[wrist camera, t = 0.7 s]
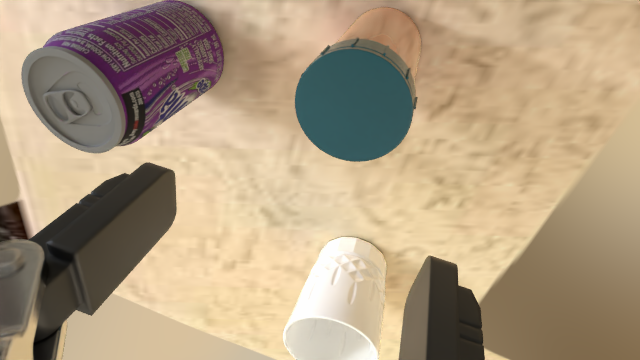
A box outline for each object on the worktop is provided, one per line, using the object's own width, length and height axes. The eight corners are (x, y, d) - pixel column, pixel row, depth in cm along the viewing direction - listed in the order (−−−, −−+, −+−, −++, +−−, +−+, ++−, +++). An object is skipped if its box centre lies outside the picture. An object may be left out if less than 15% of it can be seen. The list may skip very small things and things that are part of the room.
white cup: (366, 221, 36) (344, 307, 28) (407, 279, 39) (397, 373, 31) (300, 244, 40) (264, 326, 32) (341, 295, 43) (317, 383, 35)
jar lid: (316, 24, 19) (304, 34, 17) (432, 56, 18) (431, 69, 16) (298, 127, 22) (287, 143, 20) (396, 156, 21) (392, 175, 20)
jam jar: (355, -2, 26) (311, 37, 18) (432, 18, 26) (424, 69, 17) (339, 72, 29) (294, 136, 21) (407, 91, 29) (390, 165, 20)
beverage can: (173, 97, 34) (66, 167, 25) (131, 13, 31) (-12, 56, 21) (241, 80, 32) (151, 151, 22) (203, -14, 28) (78, 21, 19)
